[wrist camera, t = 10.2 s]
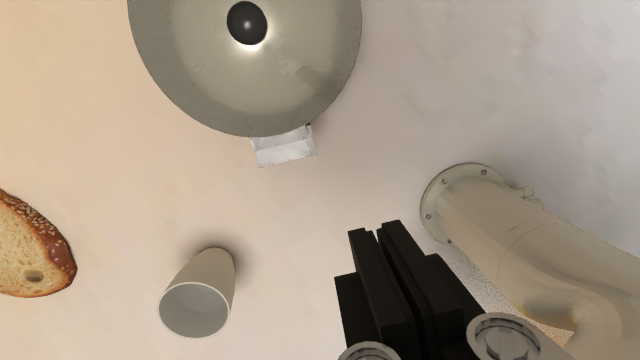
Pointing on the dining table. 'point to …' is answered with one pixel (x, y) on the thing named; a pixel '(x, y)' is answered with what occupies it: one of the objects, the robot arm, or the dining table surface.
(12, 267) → the slice of bread
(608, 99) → the dining table surface
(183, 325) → the cup
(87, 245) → the dining table surface
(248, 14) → the lid
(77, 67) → the dining table surface
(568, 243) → the robot arm
